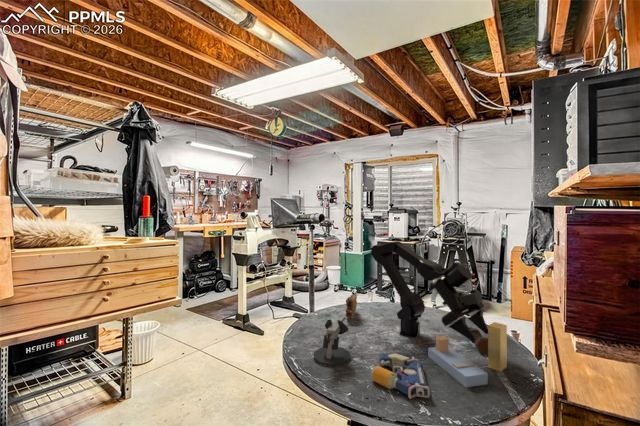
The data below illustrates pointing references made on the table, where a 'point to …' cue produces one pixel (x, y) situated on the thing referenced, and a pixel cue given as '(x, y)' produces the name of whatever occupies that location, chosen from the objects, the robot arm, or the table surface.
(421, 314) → the robot arm
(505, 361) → the tan tall block
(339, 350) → the gun turret
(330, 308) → the table surface
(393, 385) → the toy gun
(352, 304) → the wooden carving
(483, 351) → the bolt
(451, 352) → the plane body
